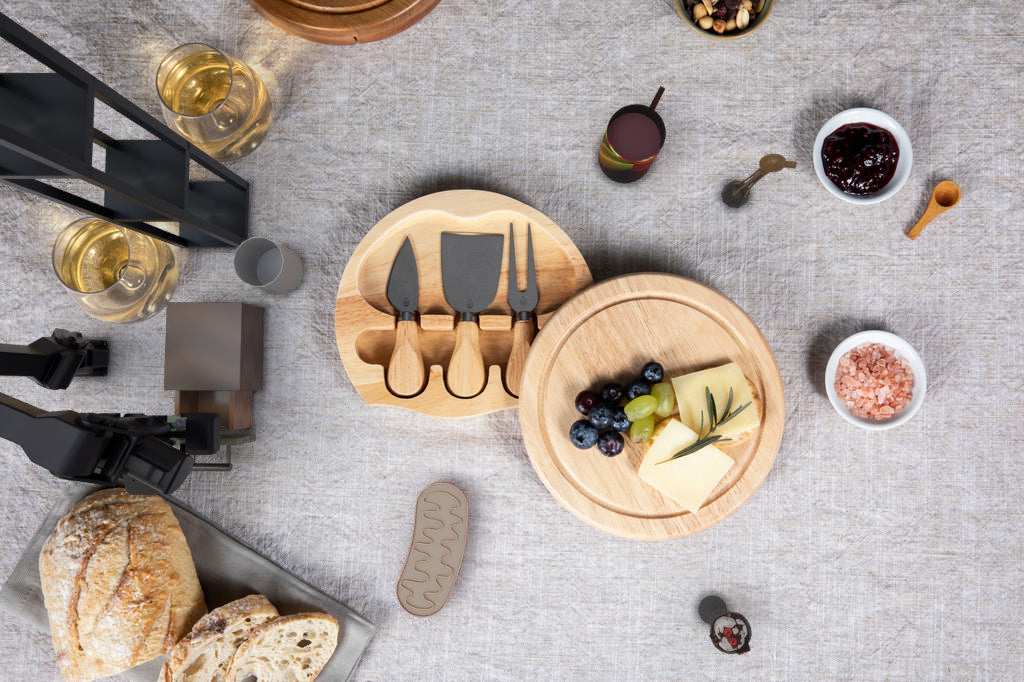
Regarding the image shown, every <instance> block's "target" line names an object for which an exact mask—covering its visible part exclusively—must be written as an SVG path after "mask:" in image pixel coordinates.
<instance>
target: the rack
mask: <svg viewBox="0 0 1024 682" xmlns="http://www.w3.org/2000/svg"><path fill="white" fill-rule="evenodd" d="M0 38H2V39H3V40H5V41H6V42H8V43H9V44H11V45H13V46H14V47H16V48H17V49H18V50H21V51H22V52H23V53H25V54H27V55H28V56H30V57H31V58H33V59H34V60H35V61H37V62H39V63H41V64H42V65H44V67H47V68H48V69H50V70H51V71H53V72H0V184H3V185H6V186H9V187H11V188H14V189H17V190H20V191H22V192H25V193H28V194H31V195H33V196H36V197H39V198H41V199H43V200H47V201H49V202H53V203H55V204H58V205H60V206H64V207H67V208H70V209H72V210H75V211H76V212H77V211H78V212H81V213H83V214H86V215H88V216H92V217H95V218H96V219H100V220H102V221H105V222H107V223H111V224H113V225H116V226H119V227H121V228H124V229H127V230H131V231H133V232H135V233H138V234H141V235H144V236H147V237H150V238H152V239H154V240H158V241H160V242H164V243H165V244H169V245H172V246H174V247H177V248H179V249H215V250H217V249H219V250H220V249H221V250H222V249H223V250H224V249H225V250H226V249H228V250H229V249H231V250H234V249H236V250H237V248H238V247H239V246H240V245H241V243H242V242H244V241H246V240H248V239H249V217H250V216H249V214H250V213H249V210H250V182H248V181H247V180H245V179H244V178H243V177H241V176H240V175H239V174H237V173H235V172H234V171H233V170H231V168H228V167H227V166H225V165H224V164H222V163H221V162H220V161H218V160H216V159H215V158H214V157H212V156H211V155H210V154H208V153H207V152H205V150H202V149H201V148H200V147H198V146H196V145H195V144H194V143H192V142H191V141H189V140H188V139H187V138H185V137H183V136H182V135H180V134H178V133H177V132H176V131H174V130H173V129H172V128H170V127H169V126H167V125H166V124H164V123H163V122H161V121H160V120H159V119H157V118H156V117H154V116H153V115H152V114H150V113H149V112H147V111H145V110H144V109H143V108H142V107H140V106H138V105H137V104H136V103H134V102H132V101H131V100H129V98H127V97H125V96H123V95H122V94H121V93H119V92H118V91H116V90H115V89H114V88H113V87H111V86H109V85H108V84H107V83H105V82H104V81H102V80H101V79H99V78H98V77H96V76H95V75H94V74H92V73H91V72H89V71H87V70H86V69H85V68H83V67H82V66H80V65H79V64H77V63H76V62H74V61H73V60H71V59H70V58H69V57H67V56H66V55H65V54H63V53H61V52H60V51H58V50H57V49H56V48H55V47H53V46H51V45H50V44H48V43H47V42H46V41H44V40H43V39H41V38H39V37H38V36H36V35H35V34H33V32H31V31H30V30H28V29H26V27H24V26H22V25H21V24H19V23H17V22H16V21H15V20H13V18H12V17H11V18H10V17H9V16H8V15H6V14H5V13H3V12H2V11H0ZM95 99H96V100H98V101H100V102H102V103H103V104H105V105H106V106H107V107H109V108H111V109H112V110H114V111H115V112H117V113H119V114H120V115H122V116H124V117H125V118H126V119H128V120H129V121H131V122H132V123H134V124H135V125H137V126H139V127H140V128H142V129H143V130H145V131H146V132H148V133H150V134H151V135H153V136H154V137H156V138H158V139H116V138H114V137H112V136H111V135H109V134H107V133H105V132H103V130H100V129H98V128H97V127H95ZM94 145H97V146H98V147H101V148H102V149H104V150H105V161H104V165H105V166H104V171H103V170H101V169H99V168H96V167H94V166H93V157H94V156H93V153H94V152H93V151H94V149H93V148H94ZM191 160H192V161H193V162H195V163H196V164H198V165H200V166H201V167H203V168H205V169H206V170H207V171H208V172H211V173H212V174H214V175H215V176H217V177H218V178H220V179H221V180H190V169H191V167H190V163H191ZM39 179H40V180H39ZM41 180H81V181H84V182H86V183H88V184H90V185H92V186H95V187H97V188H98V189H101V190H103V192H104V193H103V205H102V204H99V203H96V202H94V201H92V200H89V199H88V198H87V199H86V198H84V197H81V196H79V195H76V194H74V193H71V192H69V191H66V190H64V189H61V188H58V187H56V186H54V185H51V184H49V183H46V182H44V181H41ZM150 223H179V225H178V235H177V234H175V233H173V232H170V231H168V230H165V229H162V228H160V227H158V226H154V225H153V224H150Z"/></svg>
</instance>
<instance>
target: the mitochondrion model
mask: <svg viewBox="0 0 1024 682" xmlns="http://www.w3.org/2000/svg"><path fill="white" fill-rule="evenodd" d="M469 509H470V508H469V502H468V498H467V496H466V494H465V493H464V491H463V490H462V489H461V488H460V487H459V486H458V485H456V484H454V483H452V482H448V481H436V482H433V483H431V484H429V485H427V486H426V487H424V488H423V489H422V490H421V491H420V492H419V494H418V496H417V498H416V500H415V505H414V516H413V517H414V518H413V528H412V535H411V539H410V544H409V548H408V550H407V551H408V552H407V555H406V558H405V560H404V564H403V567H402V569H401V572H400V574H399V577H398V579H397V582H396V585H395V596H396V600H397V602H398V605H399V606H400V608H401V609H402V610H403V611H404V612H405V613H407V614H408V615H410V616H412V617H415V618H419V619H425V618H430V617H433V616H435V615H437V614H439V613H440V612H441V611H442V610H443V609H444V608H445V606H446V605H447V603H448V601H449V599H450V598H451V595H452V592H453V589H454V587H455V584H456V583H457V582H456V581H457V579H458V575H459V574H460V573H459V572H460V570H461V567H462V563H463V559H464V555H465V549H466V545H467V537H468V527H469V526H468V525H469V512H470V511H469Z"/></svg>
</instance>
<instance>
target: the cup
mask: <svg viewBox="0 0 1024 682" xmlns="http://www.w3.org/2000/svg"><path fill="white" fill-rule="evenodd" d="M233 255H234V256H233V259H232V266H233V269H234V274H235V276H237V277H238V279H239V280H240V281H241V282H242V283H243V284H245V285H248V286H250V287H252V288H255V289H259V290H261V291H266V292H268V293H272V294H276V295H281V294H282V295H283V294H285V295H286V294H288V293H290V292H292V291H294V290H295V289H297V287H298V286H299V284H300V283H301V282H302V280H303V275H304V272H305V271H304V266H303V262H302V259H301V258H300V257H299V255H298V254H297V253H296V251H293V250H291V249H290V248H287V247H286V246H283V245H281V243H278V242H276V241H274V240H272V239H270V238H268V237H265V236H252V237H249V238H248V240H246V241H244V242H242V243H241V245H240V246H239V247H238V248H237V249H236V250H235V251H234V254H233Z"/></svg>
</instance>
